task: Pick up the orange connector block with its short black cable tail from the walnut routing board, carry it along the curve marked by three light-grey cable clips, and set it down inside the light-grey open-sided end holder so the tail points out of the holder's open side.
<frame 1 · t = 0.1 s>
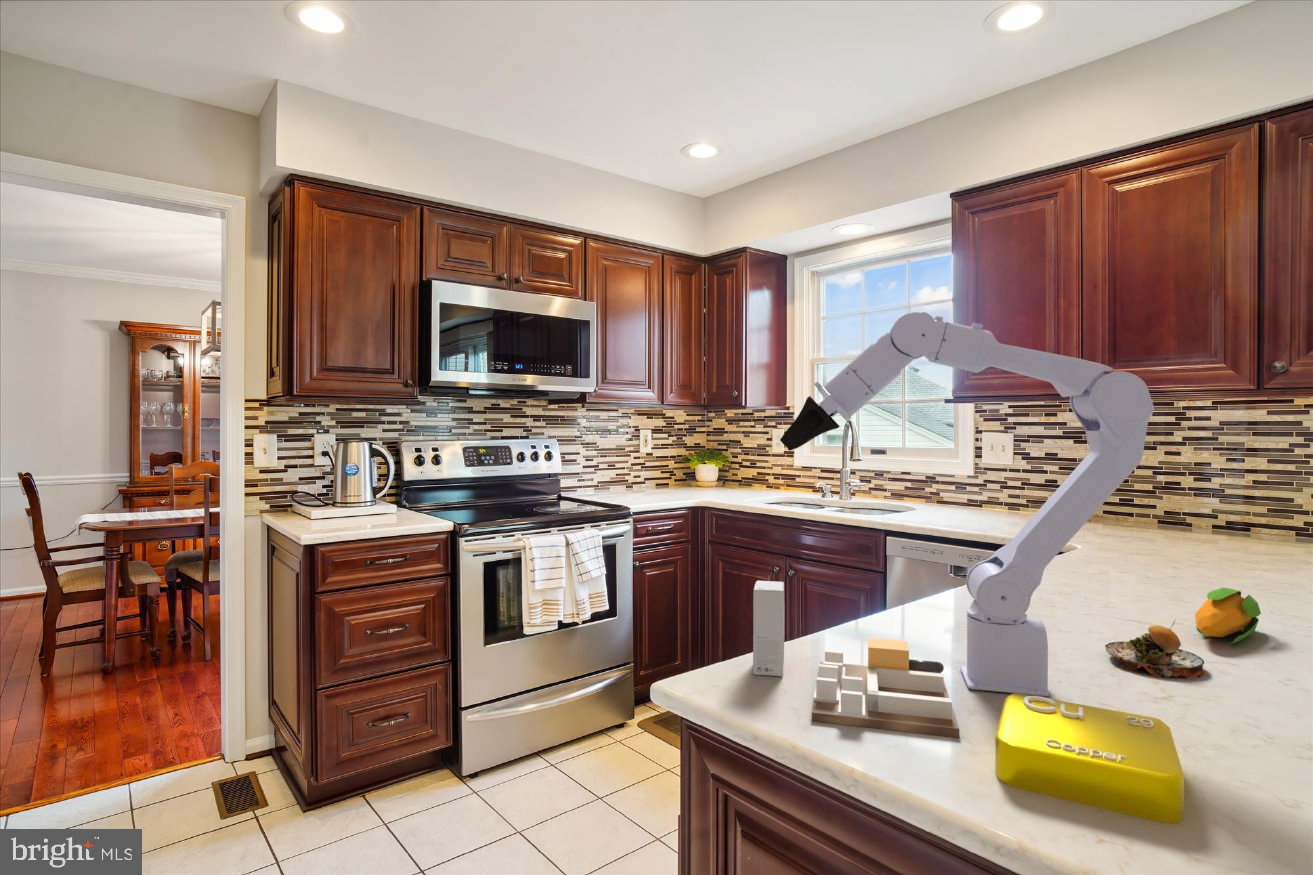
hand: (787, 444, 100), 32 cm above the worktop, tool tilted 50°, fingers open, 7 cm apart
clip a: (833, 676, 92), resting on routing board
element tile: (1083, 773, 69), on the worktop
clip b: (827, 692, 86), resting on routing board
burger: (1152, 667, 99), on the worktop
end holder: (911, 700, 84), resting on routing board
routing board: (881, 698, 87), on the worktop
corn: (1224, 639, 111), on the worktop
connector: (887, 677, 91), point 1 cm above the worktop, touching routing board
skincare box: (769, 670, 98), on the worktop
clip c: (851, 706, 82), resting on routing board
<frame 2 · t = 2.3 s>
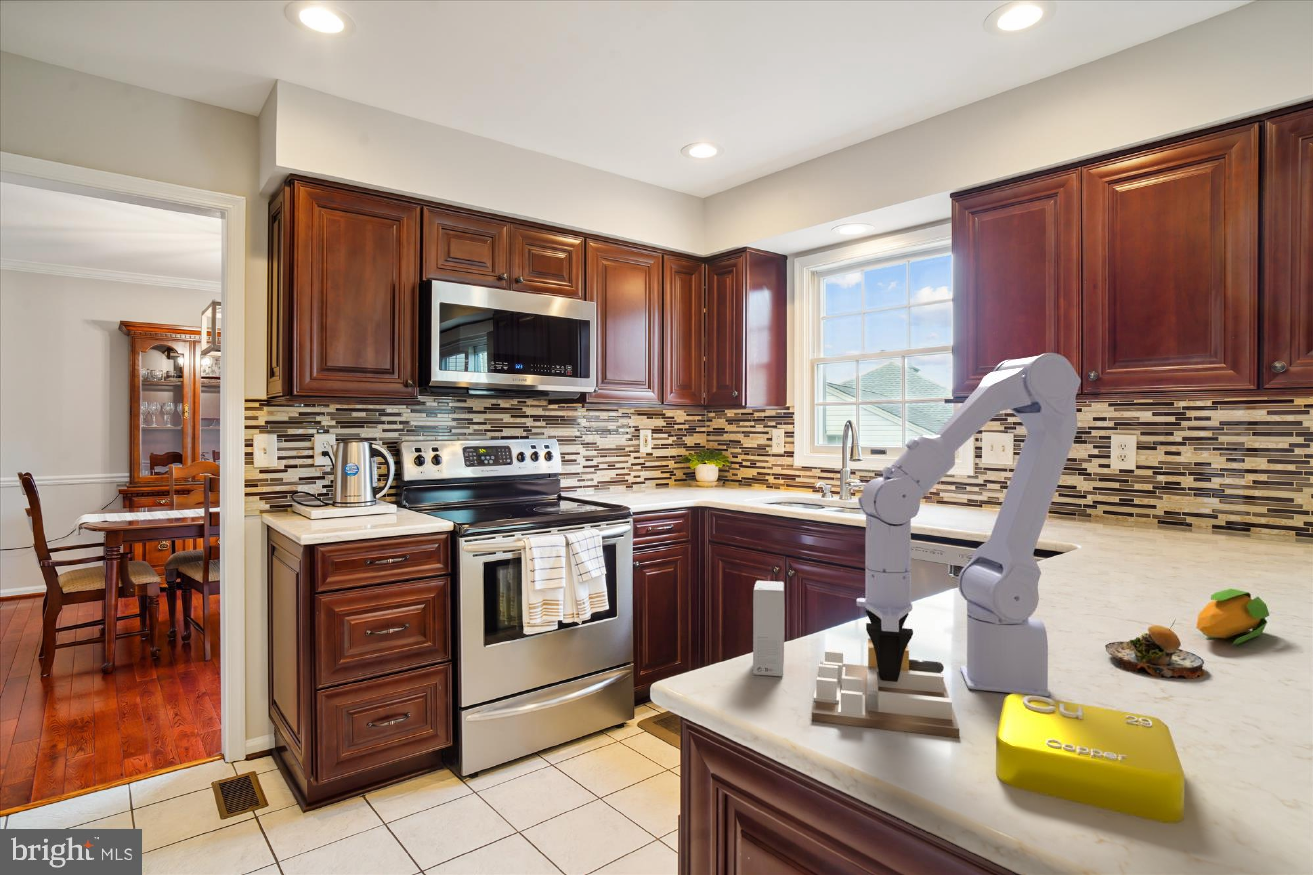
hand: (887, 670, 91), 2 cm above the worktop, tool pointing down, fingers open, 7 cm apart
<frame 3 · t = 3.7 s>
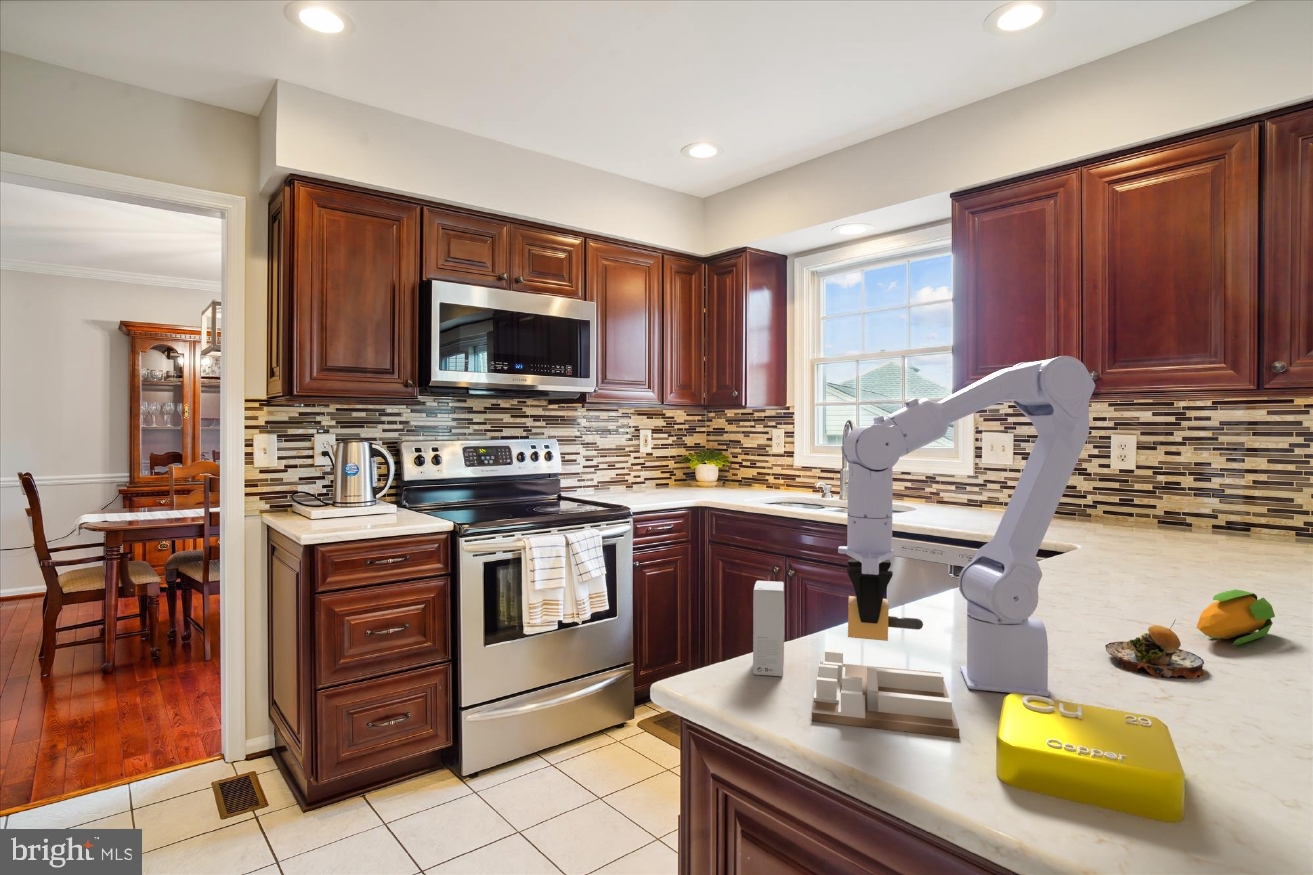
hand: (868, 617, 92), 9 cm above the worktop, tool pointing down, fingers closed on connector, 4 cm apart
connector: (867, 634, 92), point 7 cm above the worktop, touching gripper
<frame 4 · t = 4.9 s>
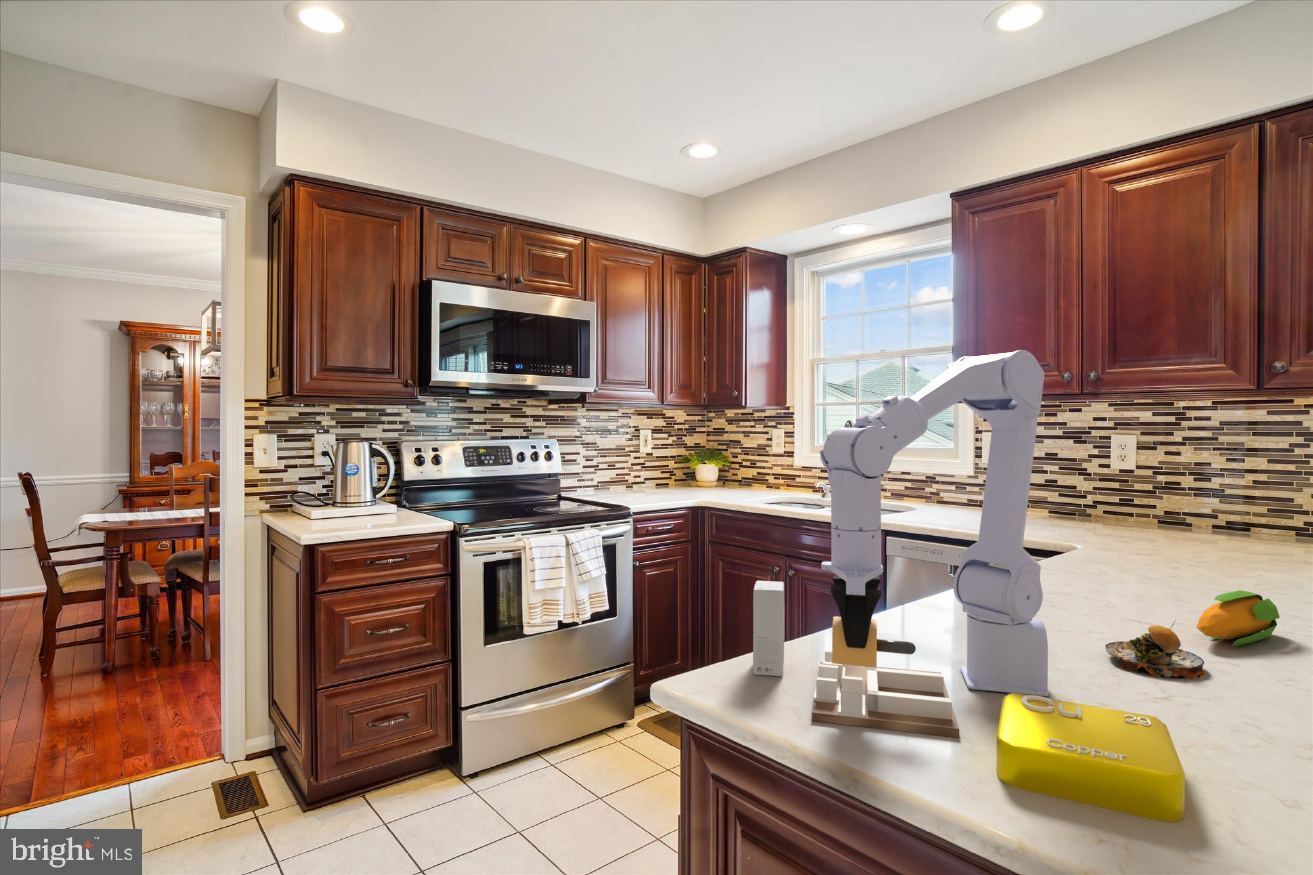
hand: (856, 641, 82), 9 cm above the worktop, tool pointing down, fingers closed on connector, 4 cm apart
connector: (854, 659, 82), point 7 cm above the worktop, touching gripper
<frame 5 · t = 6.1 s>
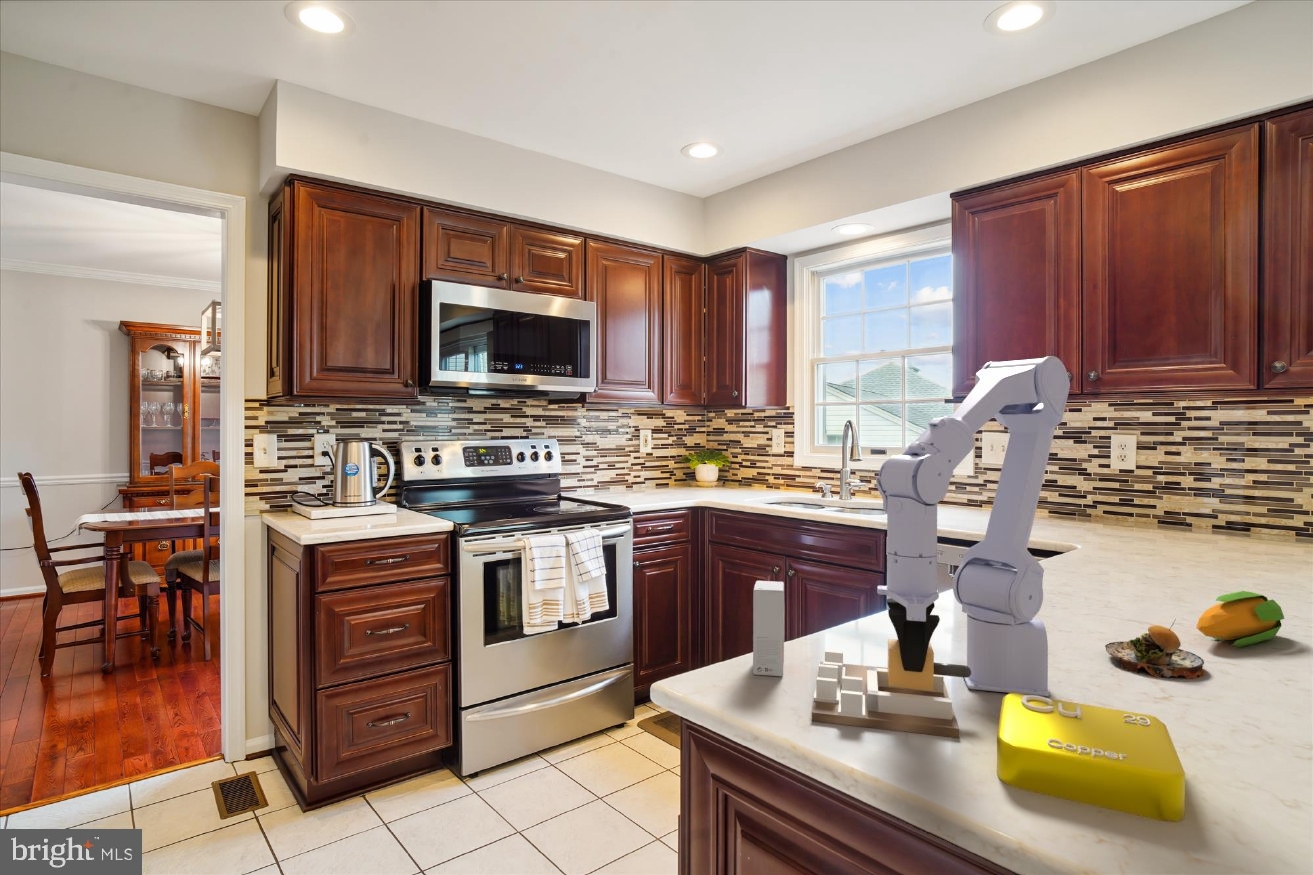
hand: (911, 664, 84), 5 cm above the worktop, tool pointing down, fingers closed on connector, 4 cm apart
connector: (909, 682, 84), point 3 cm above the worktop, touching gripper
when the fingers open (4 cm above the worktop, at t = 6.7 s): connector stays where it is, resting on routing board.
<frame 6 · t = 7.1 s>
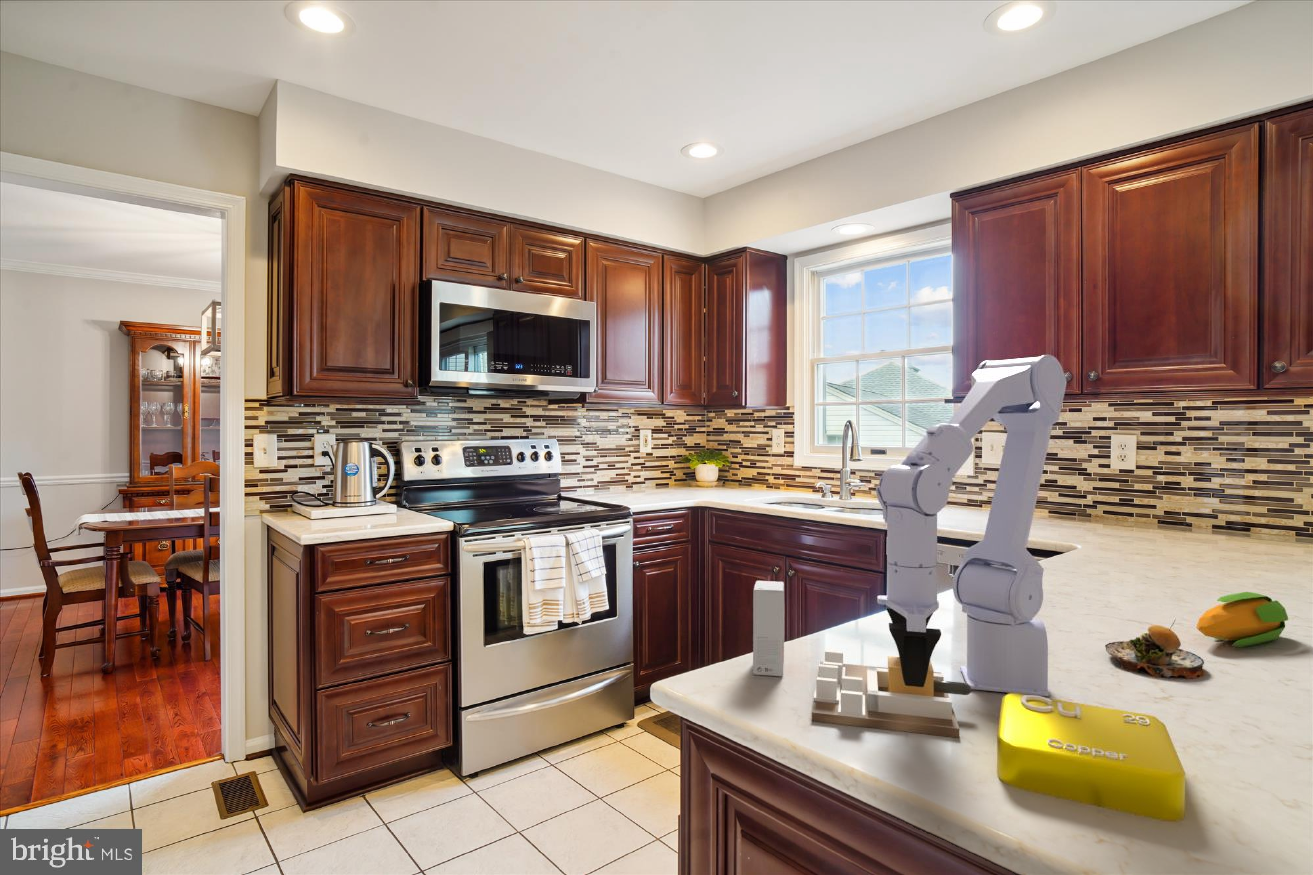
hand: (911, 674, 84), 4 cm above the worktop, tool pointing down, fingers open, 7 cm apart
connector: (909, 699, 84), point 1 cm above the worktop, touching routing board
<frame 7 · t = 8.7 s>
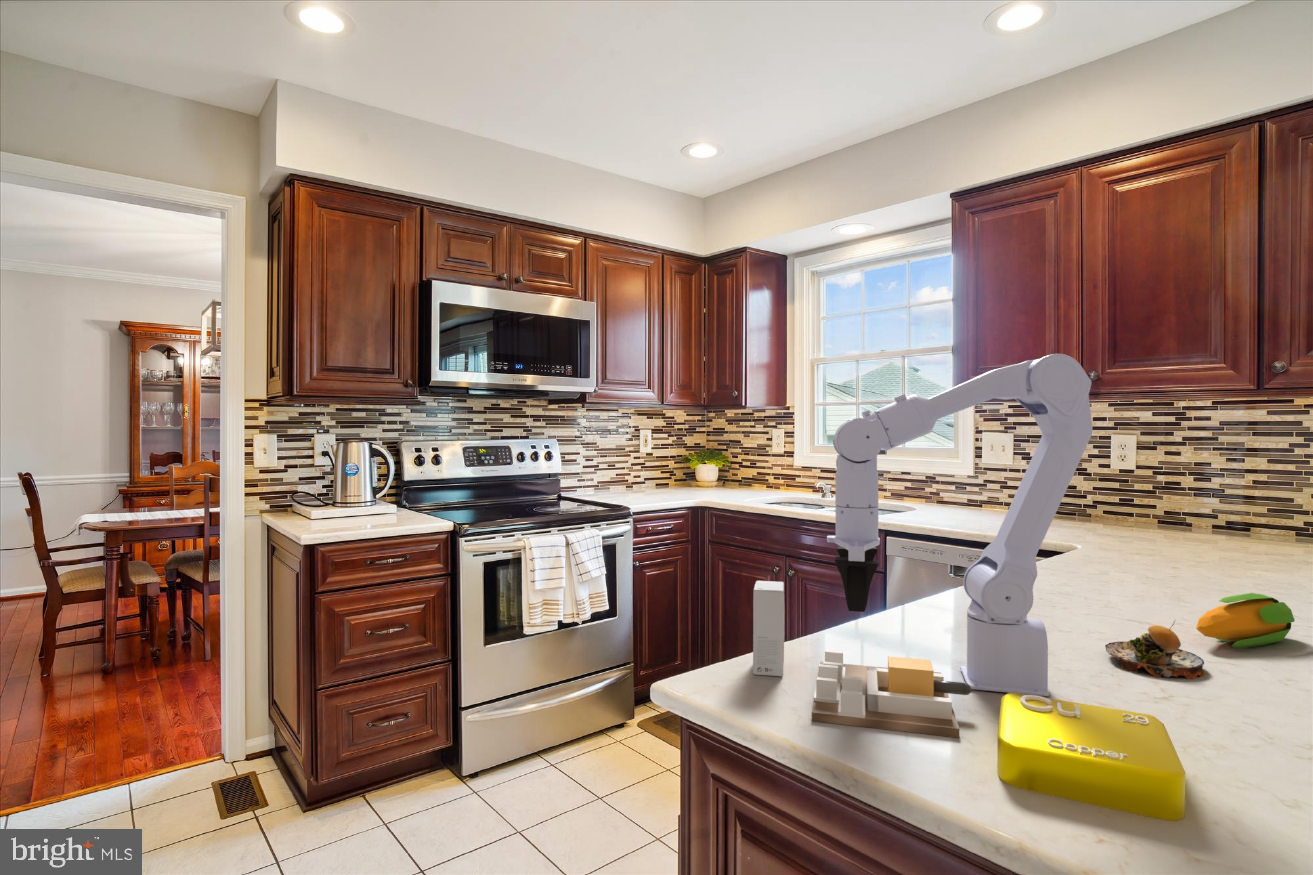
hand: (856, 603, 95), 10 cm above the worktop, tool pointing down, fingers open, 7 cm apart
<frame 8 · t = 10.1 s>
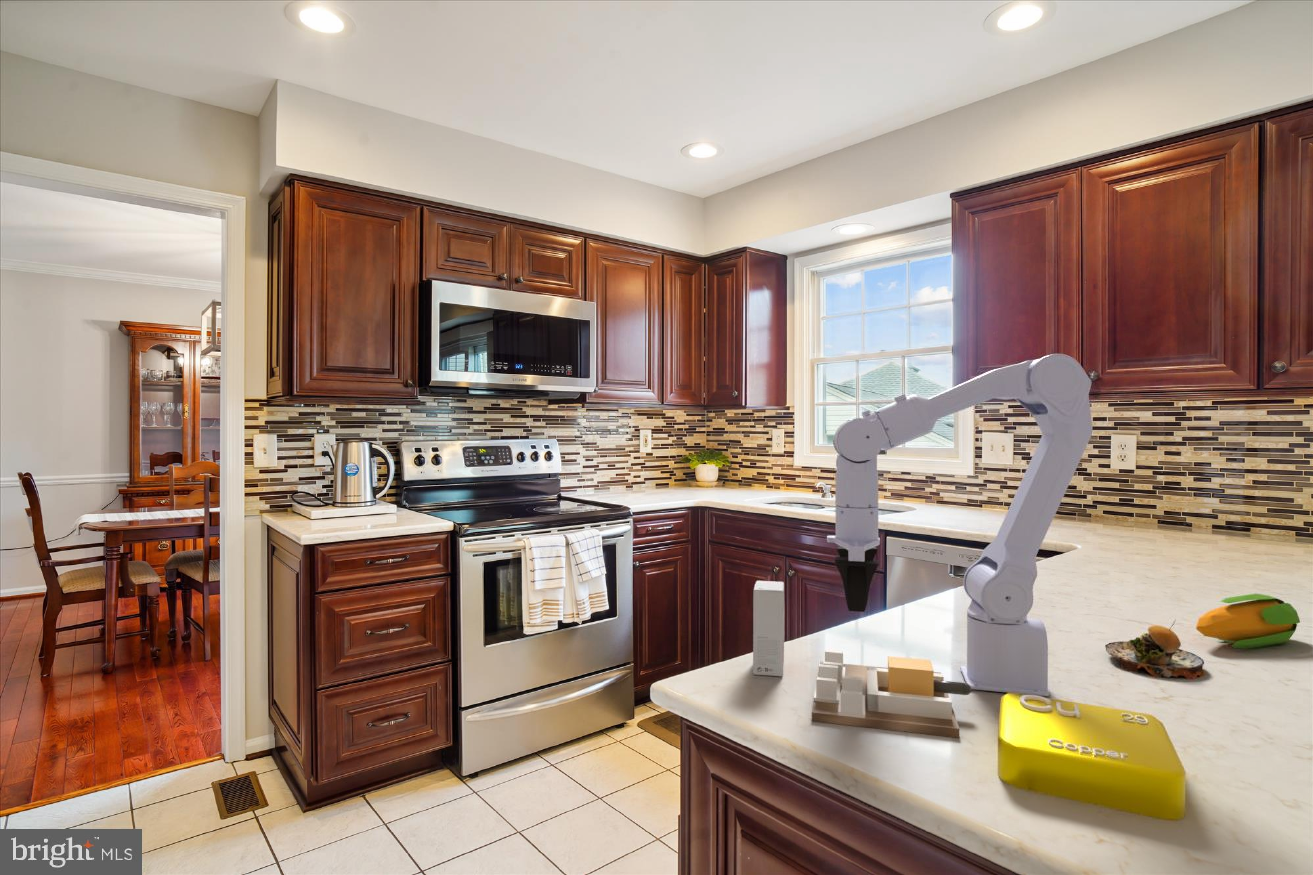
hand: (856, 603, 95), 10 cm above the worktop, tool pointing down, fingers open, 7 cm apart
at the end: connector 0.2 cm off-centre on the end holder, point 0.0 cm above the end holder's base; connector tilted 0°; the gripper is holding nothing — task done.
